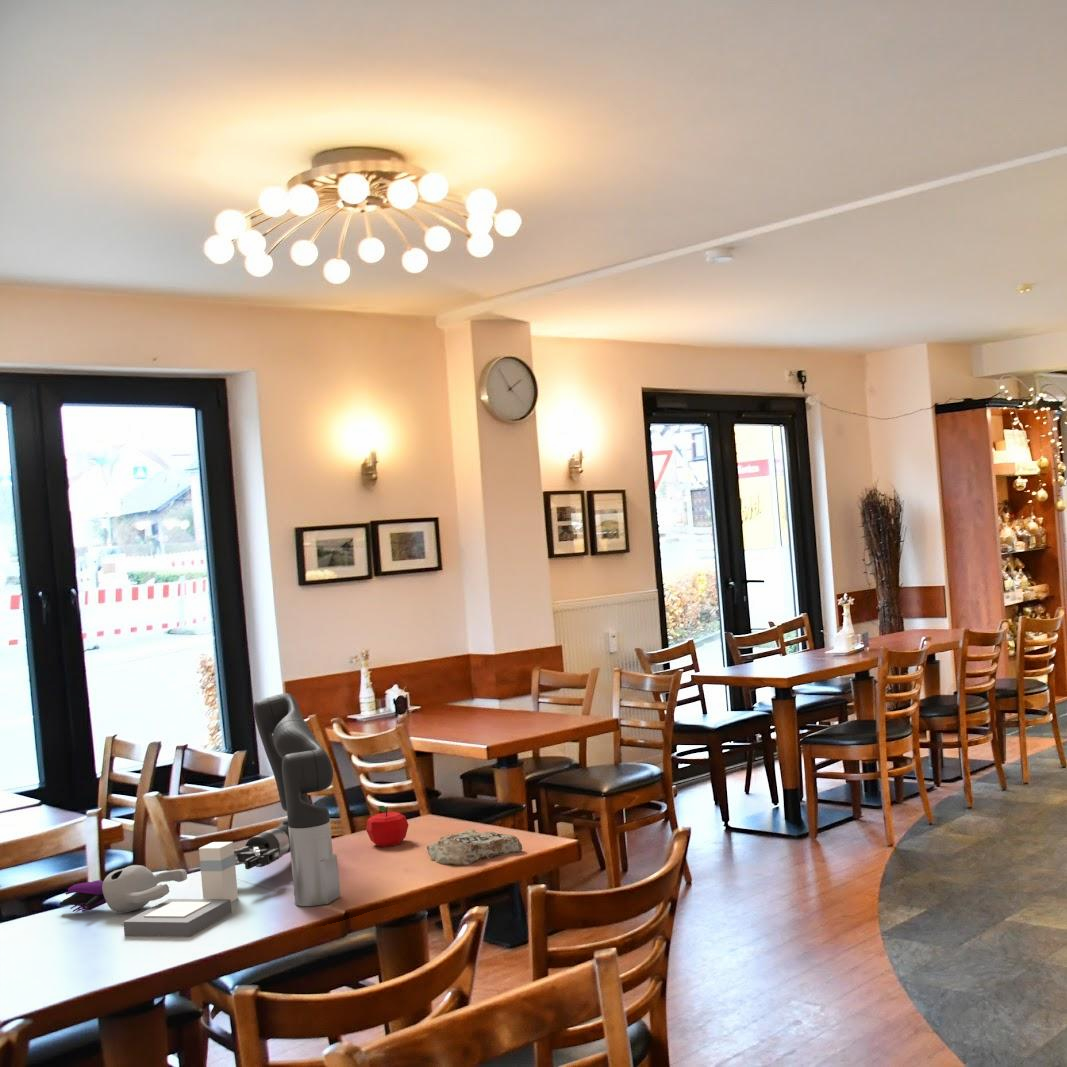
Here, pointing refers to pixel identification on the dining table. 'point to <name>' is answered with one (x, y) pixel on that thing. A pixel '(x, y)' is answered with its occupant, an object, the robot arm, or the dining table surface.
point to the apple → (387, 828)
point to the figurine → (123, 889)
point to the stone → (472, 847)
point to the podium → (177, 917)
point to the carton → (218, 871)
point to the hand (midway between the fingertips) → (230, 865)
